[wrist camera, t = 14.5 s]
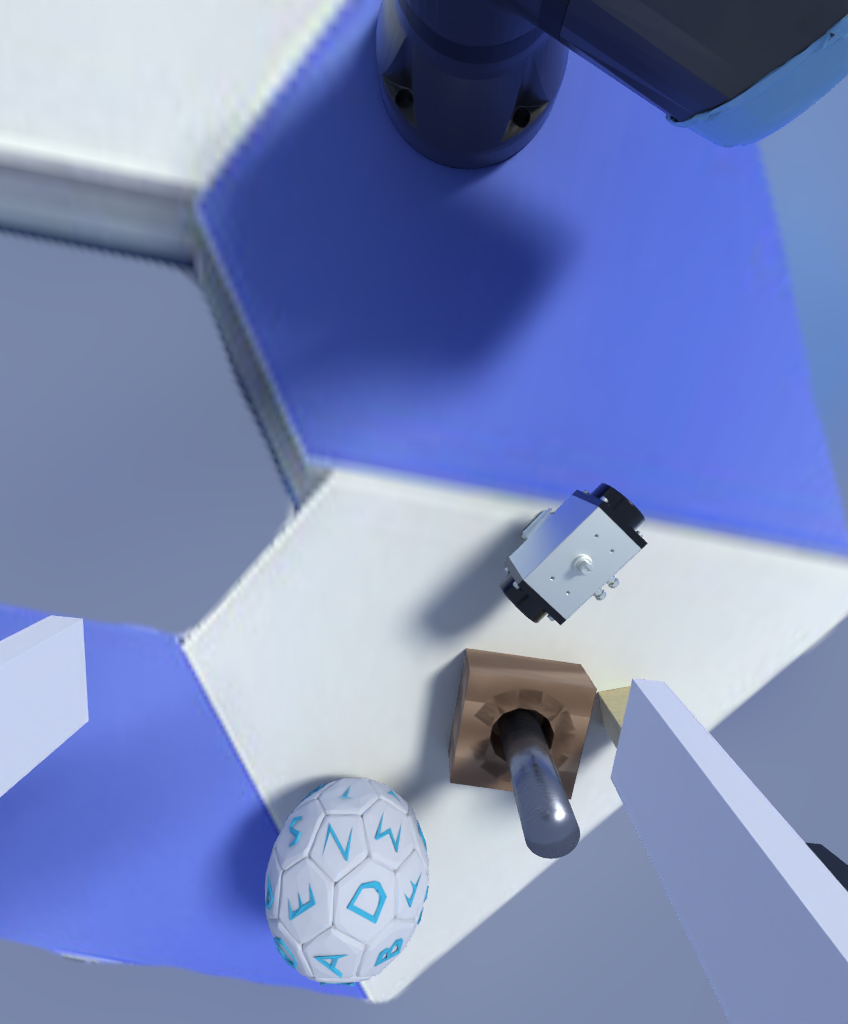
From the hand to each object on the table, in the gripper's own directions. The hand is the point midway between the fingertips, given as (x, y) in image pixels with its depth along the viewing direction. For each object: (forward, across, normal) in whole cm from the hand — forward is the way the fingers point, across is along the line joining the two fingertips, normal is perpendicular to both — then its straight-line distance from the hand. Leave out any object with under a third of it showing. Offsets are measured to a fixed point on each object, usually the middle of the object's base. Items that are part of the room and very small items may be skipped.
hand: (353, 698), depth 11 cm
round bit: (+32, +13, -22) cm, 41 cm away
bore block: (+33, +13, -22) cm, 42 cm away
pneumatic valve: (+34, +13, -3) cm, 36 cm away
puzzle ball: (+32, -2, -36) cm, 48 cm away
